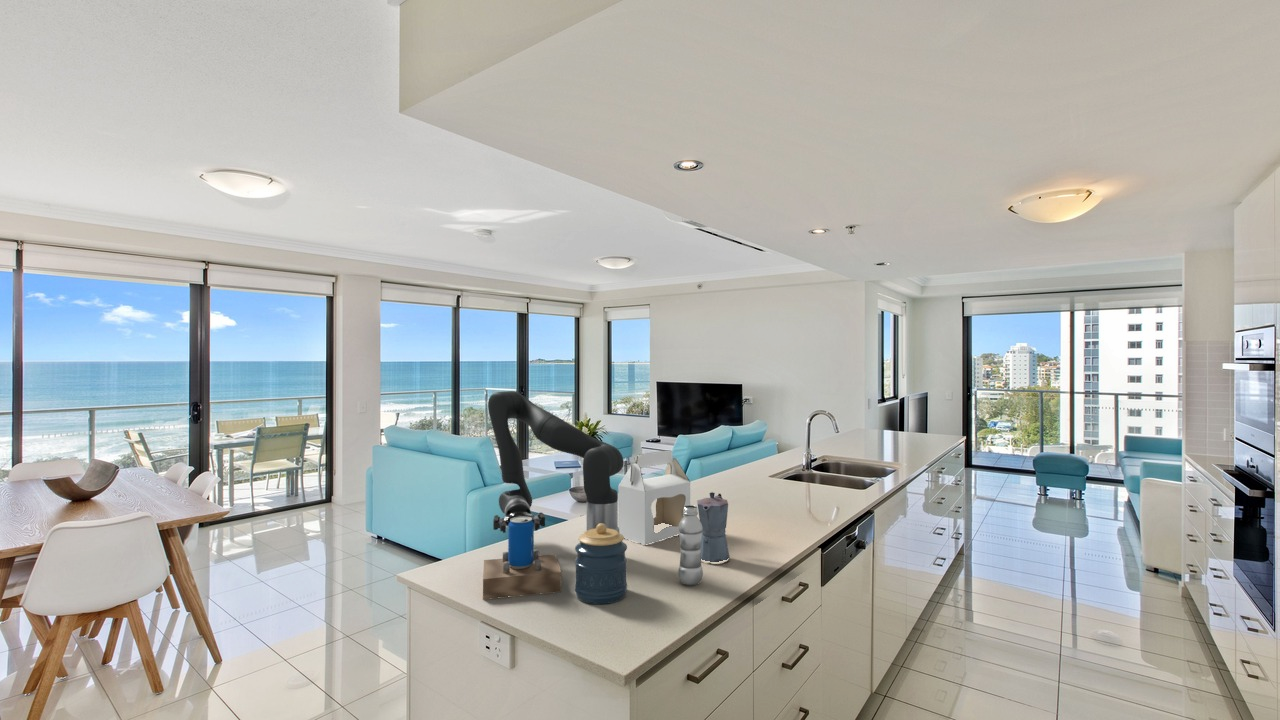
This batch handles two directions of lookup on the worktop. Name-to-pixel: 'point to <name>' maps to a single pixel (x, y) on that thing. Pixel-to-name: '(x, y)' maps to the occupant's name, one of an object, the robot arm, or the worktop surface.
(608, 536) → the canister
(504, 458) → the robot arm
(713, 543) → the moka pot
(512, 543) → the beverage can
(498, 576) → the peg board
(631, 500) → the gable box
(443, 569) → the worktop surface
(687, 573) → the plastic bottle
